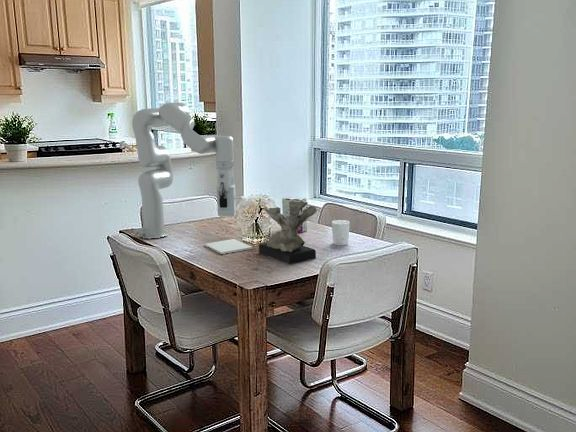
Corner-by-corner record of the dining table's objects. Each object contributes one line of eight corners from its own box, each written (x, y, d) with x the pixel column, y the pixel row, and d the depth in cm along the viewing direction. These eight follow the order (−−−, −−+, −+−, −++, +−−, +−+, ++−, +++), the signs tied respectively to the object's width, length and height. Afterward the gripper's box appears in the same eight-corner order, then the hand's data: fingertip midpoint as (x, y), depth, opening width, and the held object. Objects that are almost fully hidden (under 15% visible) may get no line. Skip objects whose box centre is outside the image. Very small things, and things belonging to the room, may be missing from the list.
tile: (221, 254, 240) (221, 252, 240) (204, 246, 254) (204, 243, 254) (252, 249, 248) (252, 246, 248) (233, 240, 262) (233, 238, 262)
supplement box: (234, 216, 244) (233, 187, 242) (217, 216, 245) (216, 187, 242) (236, 212, 252) (235, 184, 249) (219, 212, 252) (218, 184, 249)
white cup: (348, 246, 251) (348, 224, 249) (330, 245, 252) (330, 223, 250) (350, 241, 258) (350, 220, 256) (332, 241, 260) (333, 219, 258)
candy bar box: (307, 231, 279) (307, 198, 276) (302, 233, 275) (302, 199, 272) (287, 228, 285) (286, 196, 281) (282, 230, 281) (281, 197, 277)
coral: (254, 251, 245) (253, 202, 241) (292, 243, 257) (292, 196, 252) (287, 265, 225) (287, 211, 221) (328, 256, 237) (328, 205, 232)
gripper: (227, 167, 234) (228, 209, 238) (239, 162, 251) (240, 201, 255) (210, 167, 236) (211, 209, 240) (222, 162, 253) (224, 201, 256)
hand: (226, 205), depth 247 cm, fingers closed on supplement box, 8 cm apart
